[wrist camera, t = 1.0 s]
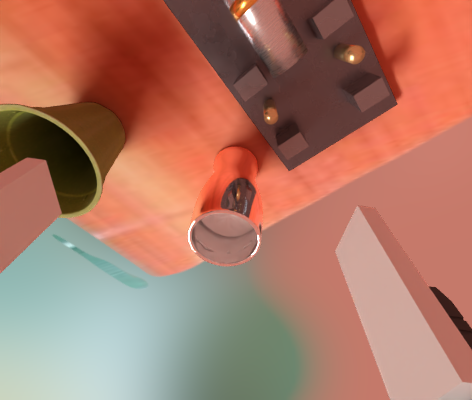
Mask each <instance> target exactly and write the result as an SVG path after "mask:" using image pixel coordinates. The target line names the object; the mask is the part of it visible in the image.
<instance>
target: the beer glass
mask: <svg viewBox="0 0 472 400" xmlns="http://www.w3.org/2000/svg"><path fill="white" fill-rule="evenodd" d="M213 169H214V173H213V175H212V176H211V177H210V178H209V180H208V181H207V182H206V184H205V185H204V187H203V188H202V190H201V192H200V194H199V196H198V198H197V201H196V203H195V207H194V210H193V214H192V219H191V224H190V227H189V231H188V241H189V244H190V246H191V248H192V250H193V251H194V252H195V253H196V254H197V255H198V256H199V257H200V258H202V259H203V260H205V261H207V262H209V263H212V264H215V265H219V266H236V265H240V264H243V263H245V262H247V261H249V260H250V259H252V258H253V257H254V256H255V255H256V254H257V253H258V251H259V249H260V246H261V235H262V225H263V207H262V200H261V196H260V192H259V189H258V187H257V184H256V181H255V178H256V176H257V172H258V163H257V160H256V158H255V156H254V155H253V154H252V153H251V152H250V151H249V150H247V149H245V148H243V147H238V146H232V147H228V148H225V149H223V150H222V151H221V152H219V153H218V155H217V156H216V158H215V160H214V165H213Z"/></svg>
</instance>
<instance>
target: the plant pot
mask: <svg viewBox="0 0 472 400" xmlns="http://www.w3.org/2000/svg"><path fill="white" fill-rule="evenodd" d="M124 143H125V132H124V128H123V126H122V124H121V122H120V120H119V119H118V117H117V116H116V115H115V114H114V113H113V112H112V111H111V110H109V109H107V108H105V107H103V106H101V105H100V104H97V103H93V102H83V103H75V104H68V105H60V106H53V107H45V108H42V107H28V106H24V105H18V104H1V105H0V173H1V172H3V171H4V170H6V169H8V168H10V167H11V166H13V165H15V164H17V163H18V162H20V161H22V160H24V159H25V158H34V159H41V160H46V162H47V165H48V169H49V172H50V176H51V179H52V182H53V186H54V189H55V192H56V196H57V199H58V202H59V206H60V209H61V212H62V214H61V215H60V216H59V218H71V217H77V216H81V215H84V214H86V213H88V212H89V211H91V210H92V209H93V208H94V207H95V206H96V205H97V203H98V201H99V200H100V197H101V194H102V189H103V183H104V181H105V177H106V175H107V173H108V172H109V170H110V168H111V167H112V165H113V163H114V161H115V160H116V158H117V157H118V155H119V153H120V152H121V150H122V148H123V146H124Z"/></svg>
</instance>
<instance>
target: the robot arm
mask: <svg viewBox="0 0 472 400" xmlns="http://www.w3.org/2000/svg"><path fill="white" fill-rule="evenodd" d="M61 214H62V212H61V209H60V206H59V202H58V199H57V196H56V192H55V189H54V186H53V182H52V179H51V176H50V172H49V169H48V165H47V162H46V160H41V159H34V158H25V159H24V160H22V161H20V162H18V163H17V164H15V165H13V166H11V167H10V168H8V169H6V170H4V171H3V172H1V173H0V273H1V272H2V271H3V270H4V269H5V268H6V267H7V266H8V265H10V263H11V262H12V261H14V260H15V259H16V258H17V257H18V256H19V255H20V254H21V253H22V252H23V251H24V250H25V249H26V248H27V247H28V246H29V245H30V244H31V243H32V242H33V241H34V240H35V239H36V238H37V237H38V236H39V235H40V234H41V233H42V232H43V231H44V230H45V229H46V228H47V227H48V226H50V224H52V223H53V222H54V221H55V220H56V219H57V218H58V217H59V216H60V215H61ZM335 252H336V255H337V258H338V260H339V263H340V266H341V268H342V271H343V274H344V276H345V279H346V282H347V284H348V287H349V290H350V293H351V295H352V298H353V301H354V303H355V306H356V309H357V311H358V314H359V317H360V320H361V322H362V325H363V328H364V331H365V333H366V336H367V339H368V341H369V344H370V347H371V349H372V352H373V355H374V358H375V360H376V363H377V366H378V368H379V371H380V374H381V376H382V379H383V382H384V384H385V387H386V390H387V393H388V395H389V398H390V400H472V329H471V327H470V326H469V325H468V323H467V322H466V321H464V320H463V316H462V315H461V314H460V312H459V311H458V310H457V308H456V307H455V305H454V304H453V303H452V302H451V301H450V300H449V299H448V298H447V297H446V296H445V295H444V294H443V293H441V292H440V291H439V290H438V289H437V288H436V287H429V286H428V285H427V283H426V282H425V281H424V279H423V278H422V276H421V275H420V273H419V272H418V270H417V269H416V267H415V266H414V264H413V263H412V261H411V260H410V258H409V257H408V256H407V254H406V253H405V251H404V250H403V248H402V247H401V245H400V244H399V242H398V241H397V239H396V238H395V237H394V235H393V233H392V232H391V231H390V229H389V228H388V226H387V225H386V223H385V222H384V220H383V219H382V217H381V216H380V214H379V213H378V211H377V210H376V208H373V207H366V206H359V205H357V208H356V210H355V212H354V214H353V216H352V218H351V220H350V222H349V224H348V226H347V228H346V230H345V232H344V234H343V236H342V238H341V240H340V242H339V245H338V247H337V249H336V251H335Z"/></svg>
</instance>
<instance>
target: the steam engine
mask: <svg viewBox="0 0 472 400" xmlns="http://www.w3.org/2000/svg"><path fill="white" fill-rule="evenodd" d="M164 2H165V3H166V5H167V6H168V7H169V9H170V10H171V11H172V13H173V14H174V15H175V17H176V18H177V19H178V21H179V22H180V24H181V25H182V26H183V28H184V29H185V30H186V32H187V33H188V34H189V36H190V37H191V39H192V40H193V41H194V43H195V44H196V45H197V47H198V48H199V49H200V51H201V52H202V53H203V55H204V56H205V58H206V59H207V60H208V62H209V63H210V64H211V66H212V67H213V68H214V70H215V71H216V72H217V74H218V75H219V77H220V78H221V79H222V81H223V82H224V83H225V85H226V86H227V87H228V89H229V90H230V92H231V93H232V94H233V96H234V97H235V98H236V100H237V101H238V102H239V104H240V105H241V106H242V108H243V109H244V111H245V112H246V113H247V115H248V116H249V117H250V119H251V120H252V121H253V123H254V124H255V126H256V127H257V128H258V130H259V131H260V132H261V134H262V135H263V136H264V138H265V139H266V140H267V142H268V143H269V145H270V146H271V147H272V149H273V150H274V151H275V153H276V154H277V155H278V157H279V158H280V159H281V161H282V162H283V164H284V165H285V166H286V168H287V169H288V170H289V171H290V170H292V169H294V168H295V167H297V166H298V165H300V164H302V163H303V162H305V161H307V160H308V159H310V158H311V157H313V156H315V155H316V154H318V153H319V152H321V151H323V150H324V149H326V148H328V147H329V146H331V145H332V144H334V143H336V142H337V141H339V140H341V139H342V138H344V137H345V136H347V135H349V134H350V133H352V132H354V131H355V130H357V129H358V128H360V127H362V126H363V125H365V124H367V123H368V122H370V121H371V120H373V119H375V118H376V117H378V116H380V115H381V114H383V113H384V112H386V111H388V110H389V109H391V108H393V107H394V106H396V105H397V102H396V100H395V98H394V95H393V93H392V91H391V89H390V86H389V84H388V82H387V80H386V77H385V75H384V73H383V71H382V69H381V66H380V64H379V62H378V60H377V57H376V55H375V53H374V51H373V48H372V46H371V44H370V42H369V40H368V37H367V35H366V33H365V31H364V28H363V26H362V24H361V22H360V19H359V17H358V15H357V13H356V11H355V8H354V6H353V4H352V2H351V0H281V2H282V4H283V6H284V8H285V9H286V11H287V13H288V15H289V17H290V18H291V20H292V22H293V24H294V26H295V27H296V29H297V31H298V33H299V35H300V36H301V38H302V40H303V42H304V44H305V45H306V47H307V49H308V51H307V53H306V54H305V55H304V56H303V57H302V58H301V59H300V60H299V61H298V62H296V63H295V64H294V65H293V66H291V67H290V68H289V69H288V70H286V71H285V72H283V73H282V74H280V75H279V76H277V77H274V78H273V77H272V75H271V74H270V72H269V71H268V69H267V68H266V66H265V65H264V63H263V61H262V60H261V58H260V57H259V55H258V54H257V52H256V51H255V49H254V47H253V46H252V44H251V43H250V41H249V40H248V38H247V37H246V35H245V33H244V32H243V30H242V29H241V27H240V26H239V24H238V23H237V22H236V20H235V19H234V17H233V16H232V14H231V12H230V11H229V9H228V7H227V6H226V4H225V2H224V1H223V0H164Z"/></svg>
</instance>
